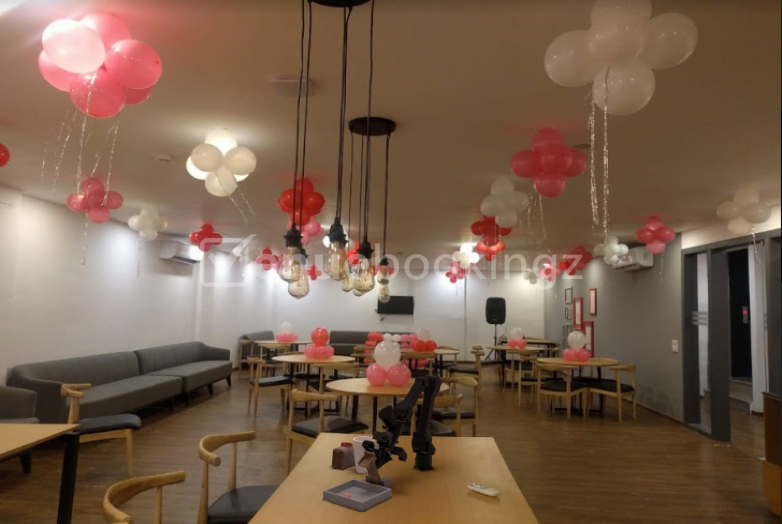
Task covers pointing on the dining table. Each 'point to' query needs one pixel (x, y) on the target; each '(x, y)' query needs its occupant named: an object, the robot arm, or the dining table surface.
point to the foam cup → (360, 452)
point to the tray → (357, 494)
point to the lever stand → (380, 481)
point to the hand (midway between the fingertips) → (374, 470)
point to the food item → (343, 456)
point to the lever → (370, 466)
